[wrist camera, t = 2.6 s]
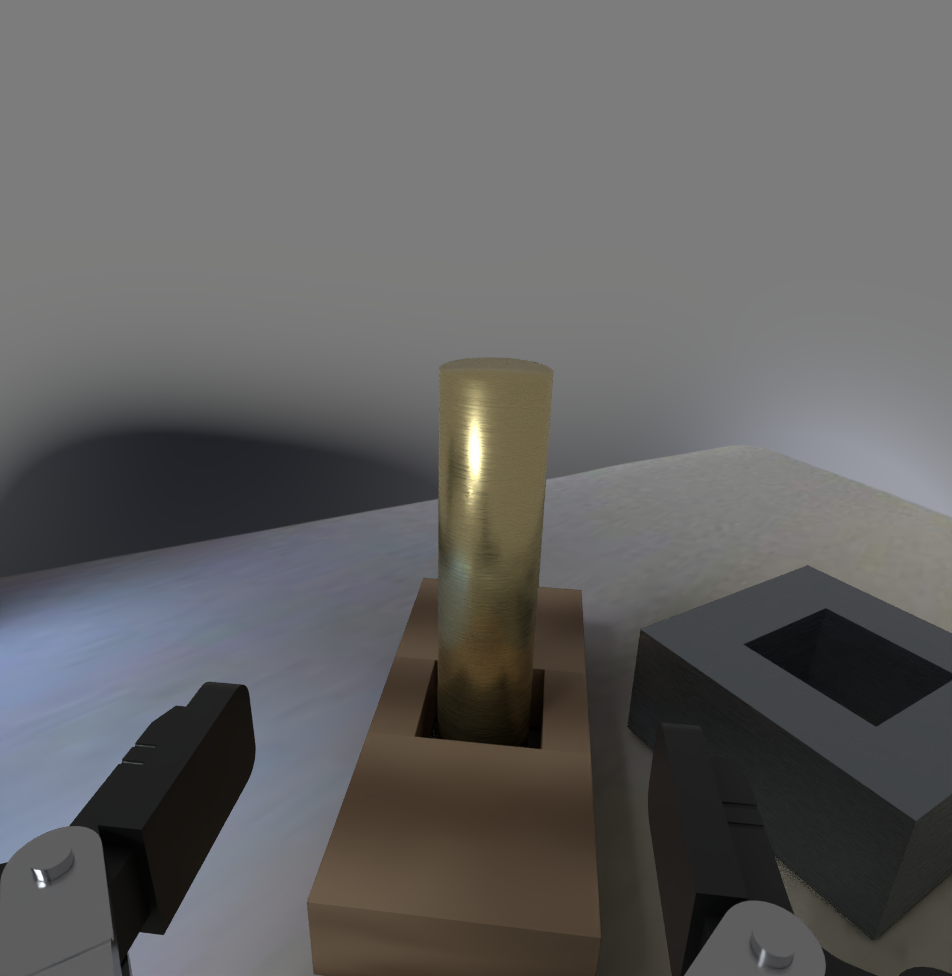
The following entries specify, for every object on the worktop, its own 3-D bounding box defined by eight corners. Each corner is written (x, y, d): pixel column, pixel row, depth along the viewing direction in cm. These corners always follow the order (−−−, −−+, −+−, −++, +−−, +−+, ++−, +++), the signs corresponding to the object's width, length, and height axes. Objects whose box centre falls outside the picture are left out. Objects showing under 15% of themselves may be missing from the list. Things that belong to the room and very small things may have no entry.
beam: (591, 1010, 20) (600, 938, 19) (313, 974, 20) (307, 902, 19) (576, 640, 36) (581, 590, 35) (423, 627, 37) (423, 577, 36)
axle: (421, 749, 29) (419, 363, 23) (494, 719, 31) (511, 354, 25) (466, 810, 26) (477, 388, 20) (544, 773, 28) (576, 375, 22)
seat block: (627, 727, 30) (640, 629, 28) (787, 651, 36) (807, 565, 34) (873, 940, 22) (916, 821, 20) (1035, 799, 27) (1080, 694, 25)
